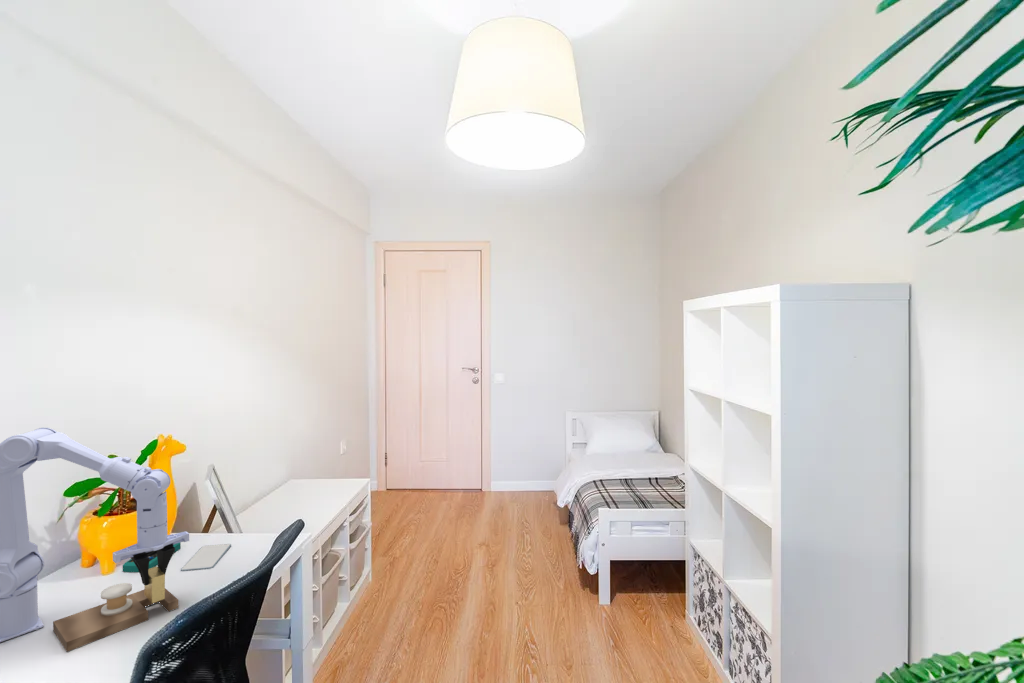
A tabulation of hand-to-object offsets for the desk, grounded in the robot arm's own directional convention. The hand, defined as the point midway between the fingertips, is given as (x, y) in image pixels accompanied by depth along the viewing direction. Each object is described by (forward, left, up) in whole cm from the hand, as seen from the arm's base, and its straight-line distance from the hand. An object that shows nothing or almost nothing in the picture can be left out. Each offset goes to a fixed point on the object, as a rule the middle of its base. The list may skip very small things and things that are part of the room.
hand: (153, 581), depth 115 cm
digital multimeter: (+9, +31, -8) cm, 33 cm away
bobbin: (-6, +4, -5) cm, 9 cm away
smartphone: (+19, +20, -8) cm, 29 cm away
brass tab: (0, 0, -4) cm, 4 cm away
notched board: (-6, +3, -7) cm, 10 cm away
